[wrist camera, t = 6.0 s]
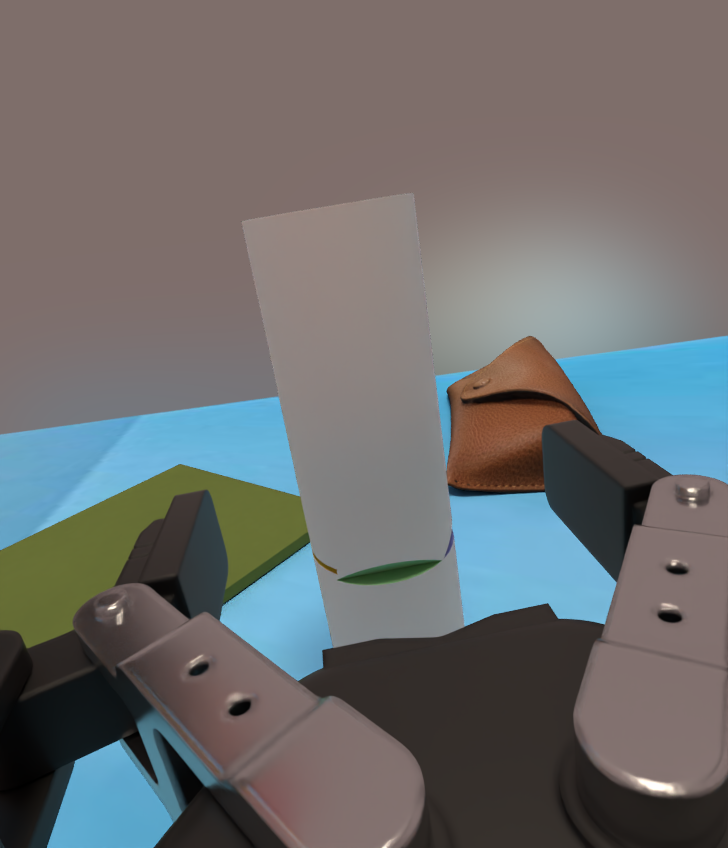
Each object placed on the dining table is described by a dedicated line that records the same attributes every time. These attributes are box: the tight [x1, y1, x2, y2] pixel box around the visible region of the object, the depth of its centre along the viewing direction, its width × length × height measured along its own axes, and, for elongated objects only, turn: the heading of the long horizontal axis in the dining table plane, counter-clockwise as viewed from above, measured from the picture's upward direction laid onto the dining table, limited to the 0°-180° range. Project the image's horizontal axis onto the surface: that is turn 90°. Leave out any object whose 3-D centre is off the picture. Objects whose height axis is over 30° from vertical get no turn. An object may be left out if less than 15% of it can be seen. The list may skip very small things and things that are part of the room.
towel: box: [0, 464, 310, 648], centre depth 28 cm, size 21×15×1 cm
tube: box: [241, 193, 465, 648], centre depth 17 cm, size 4×4×15 cm
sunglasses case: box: [446, 336, 602, 493], centre depth 38 cm, size 18×7×7 cm, turn 174°
